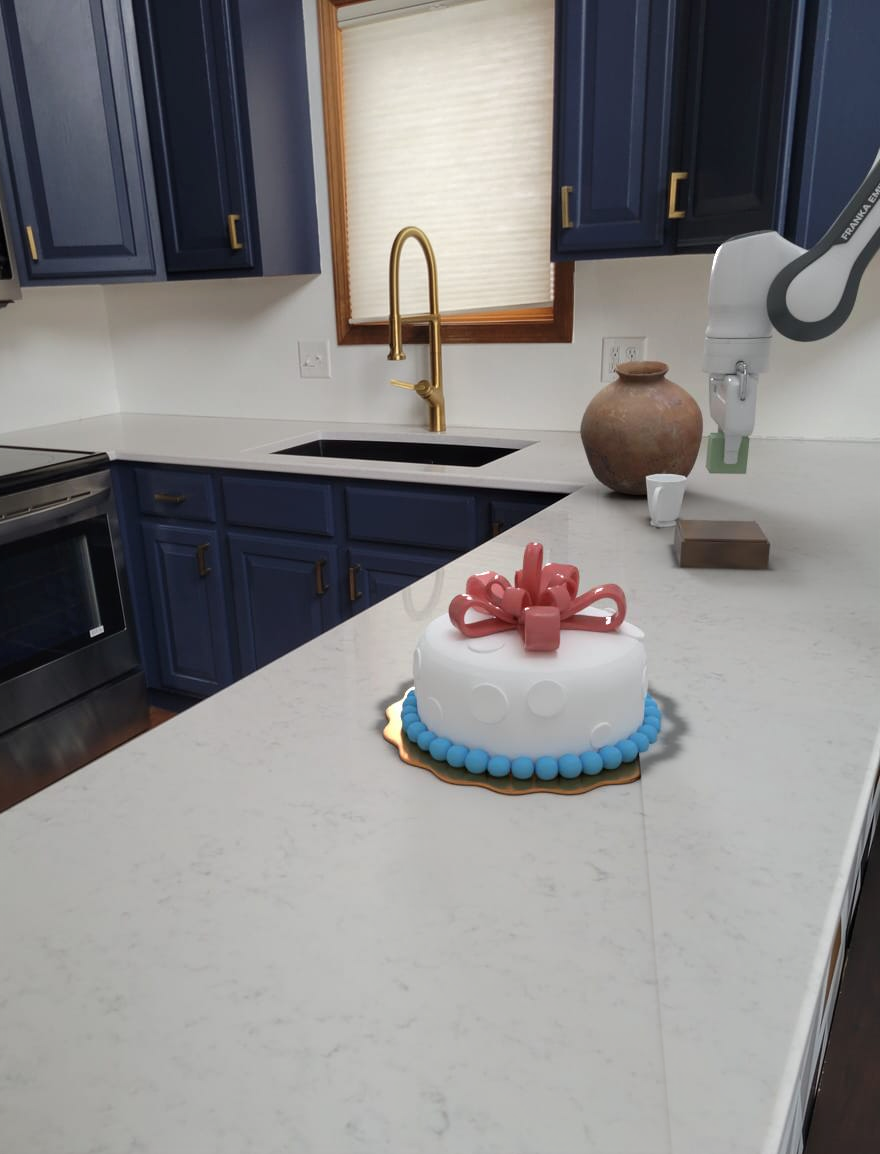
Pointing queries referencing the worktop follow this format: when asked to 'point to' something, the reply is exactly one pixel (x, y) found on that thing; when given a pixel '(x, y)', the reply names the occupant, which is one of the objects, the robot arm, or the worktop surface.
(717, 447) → the block
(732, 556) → the block
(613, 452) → the pottery
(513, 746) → the wedding cake
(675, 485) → the cup
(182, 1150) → the worktop surface
